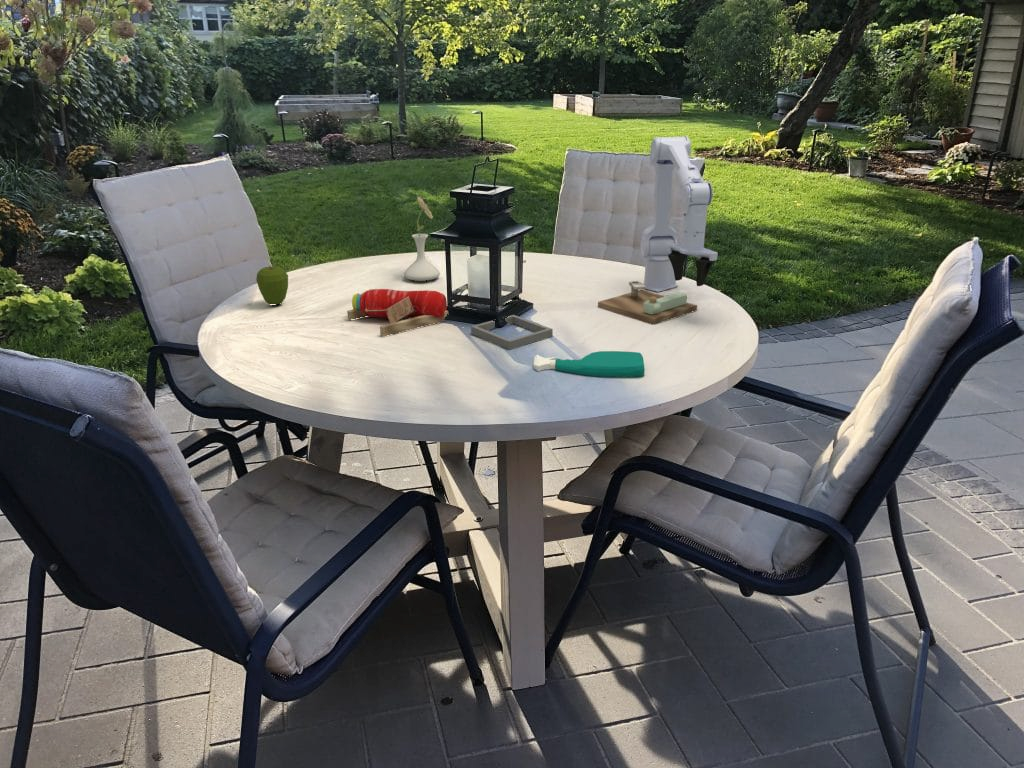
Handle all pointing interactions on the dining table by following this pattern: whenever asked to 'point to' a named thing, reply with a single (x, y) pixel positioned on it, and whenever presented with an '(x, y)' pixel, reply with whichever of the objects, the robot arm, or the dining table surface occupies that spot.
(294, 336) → the dining table surface
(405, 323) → the bottle cradle
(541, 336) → the mousse rim
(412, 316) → the water bottle
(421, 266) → the flower in vase
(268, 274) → the apple
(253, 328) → the dining table surface
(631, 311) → the board
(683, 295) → the link
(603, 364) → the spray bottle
